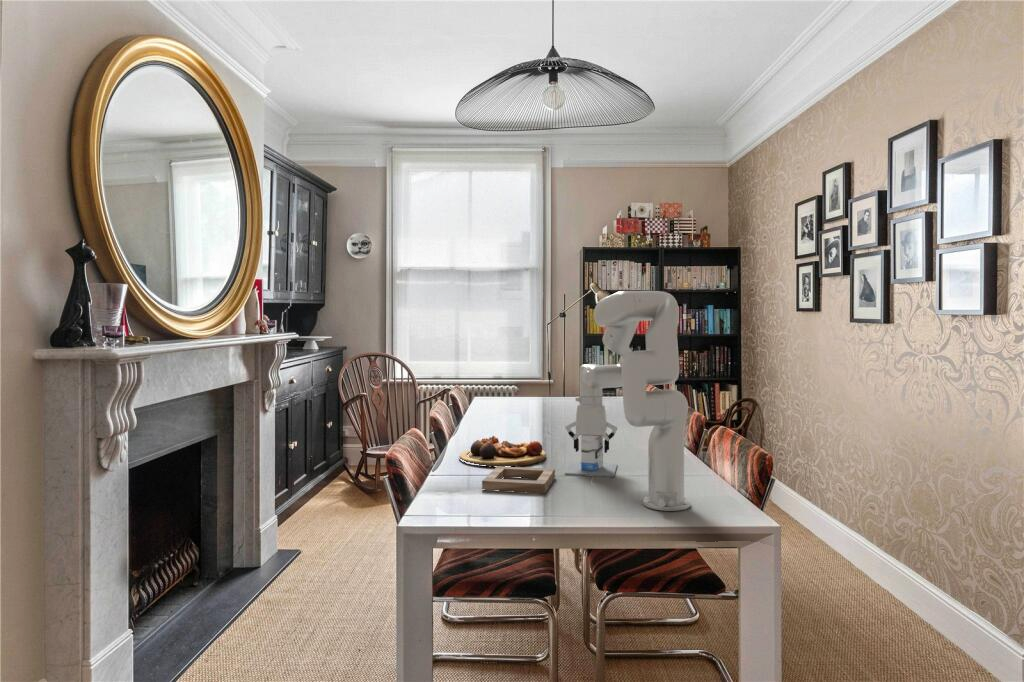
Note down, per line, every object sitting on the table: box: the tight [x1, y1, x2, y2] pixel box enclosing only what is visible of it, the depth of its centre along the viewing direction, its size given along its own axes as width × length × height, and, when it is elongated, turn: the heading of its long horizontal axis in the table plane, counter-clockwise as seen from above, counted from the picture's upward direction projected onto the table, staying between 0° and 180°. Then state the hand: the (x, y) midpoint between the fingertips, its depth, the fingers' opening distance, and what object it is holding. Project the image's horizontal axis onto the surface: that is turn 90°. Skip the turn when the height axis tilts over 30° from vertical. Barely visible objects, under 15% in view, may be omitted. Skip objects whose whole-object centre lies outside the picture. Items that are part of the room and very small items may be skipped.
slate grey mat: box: [564, 461, 618, 478], centre depth 215 cm, size 16×16×1 cm
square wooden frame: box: [481, 466, 556, 495], centre depth 198 cm, size 19×19×3 cm
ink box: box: [580, 435, 604, 471], centre depth 215 cm, size 8×5×12 cm, turn 151°
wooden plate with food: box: [458, 435, 547, 467], centre depth 235 cm, size 32×32×8 cm
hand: (591, 451), depth 215 cm, fingers open, 9 cm apart
